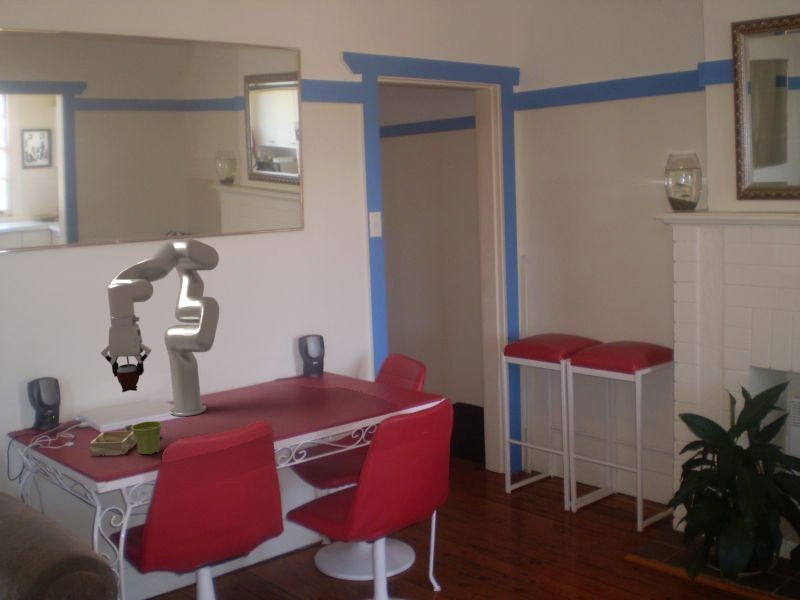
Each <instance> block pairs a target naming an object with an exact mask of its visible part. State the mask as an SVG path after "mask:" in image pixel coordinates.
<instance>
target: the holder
mask: <svg viewBox="0 0 800 600" xmlns="http://www.w3.org/2000/svg"><path fill="white" fill-rule="evenodd" d="M135 445H137V442H136V438H135V434H134V433H133V431H125V430H119V431H118V430H116V431H114V430H113V431H102V432H101V433H100V434H99V435H97V436H96V437H95V438H94V439H93V440H91V442H90V443H89V453H90V457H98V456H100V455H102V456H104V455H105V456H121V455H120V454H125V453H126V452H127V451H128V450H129V449H130V450H131V449H132V448H133V447H134V446H135ZM130 450H129V451H130ZM129 451H128V452H129ZM128 452H127V453H128ZM127 453H126V454H127ZM126 454H125V455H126ZM102 456H101V457H102Z"/></svg>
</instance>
